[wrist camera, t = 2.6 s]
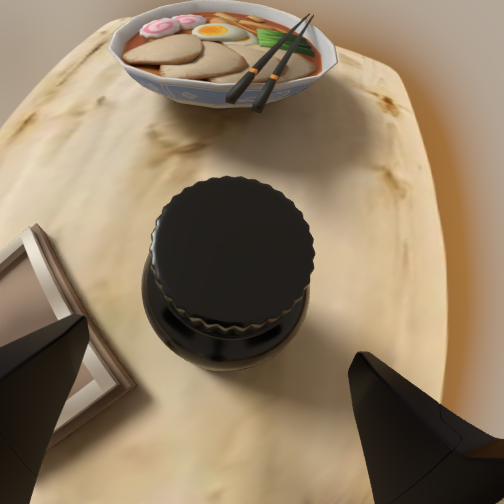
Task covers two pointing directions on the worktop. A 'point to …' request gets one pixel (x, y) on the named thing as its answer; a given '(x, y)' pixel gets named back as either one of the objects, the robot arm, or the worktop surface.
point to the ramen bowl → (222, 53)
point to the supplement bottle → (228, 273)
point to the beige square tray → (51, 310)
